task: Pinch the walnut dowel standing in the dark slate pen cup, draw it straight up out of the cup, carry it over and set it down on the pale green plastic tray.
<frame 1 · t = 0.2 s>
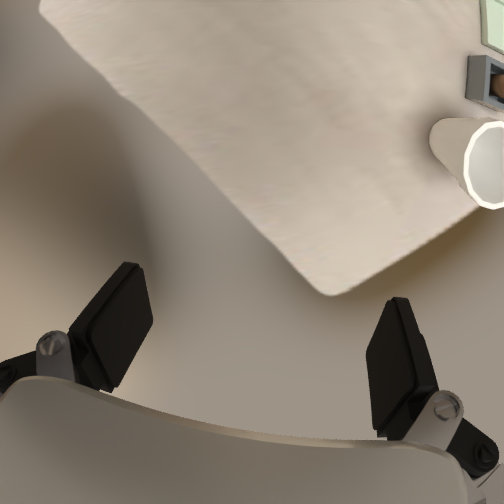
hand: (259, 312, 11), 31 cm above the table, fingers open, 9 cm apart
dowel: (486, 84, 26), point 1 cm above the table, touching pen cup
pen cup: (484, 84, 26), on the table
foam cup: (447, 140, 32), on the table
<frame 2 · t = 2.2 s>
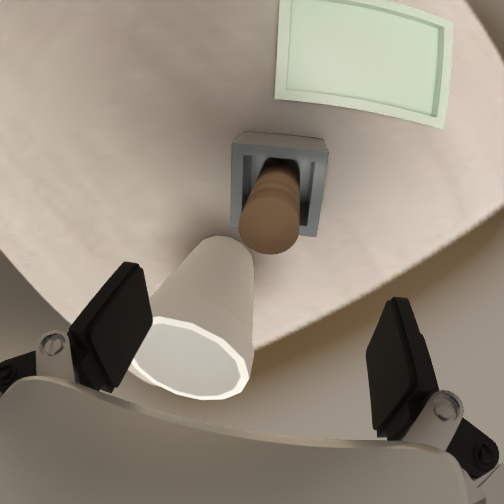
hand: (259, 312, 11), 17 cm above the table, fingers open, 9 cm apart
tray: (365, 53, 18), on the table
dowel: (280, 173, 24), point 1 cm above the table, touching pen cup
pen cup: (280, 171, 25), on the table
foam cup: (223, 261, 31), on the table
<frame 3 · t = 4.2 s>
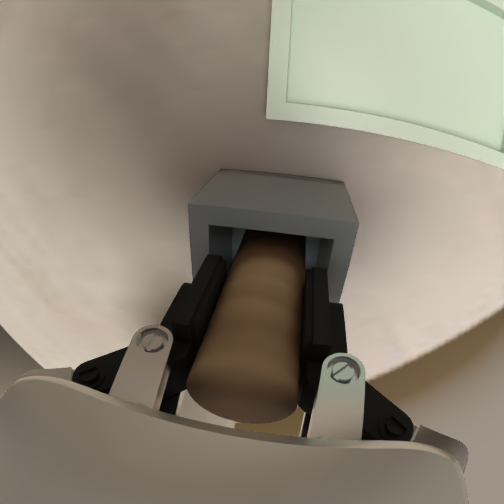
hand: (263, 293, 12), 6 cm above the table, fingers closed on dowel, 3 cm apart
tray: (412, 47, 10), on the table
dowel: (276, 234, 16), point 1 cm above the table, touching gripper, pen cup
pen cup: (277, 229, 17), on the table
foam cup: (201, 336, 23), on the table
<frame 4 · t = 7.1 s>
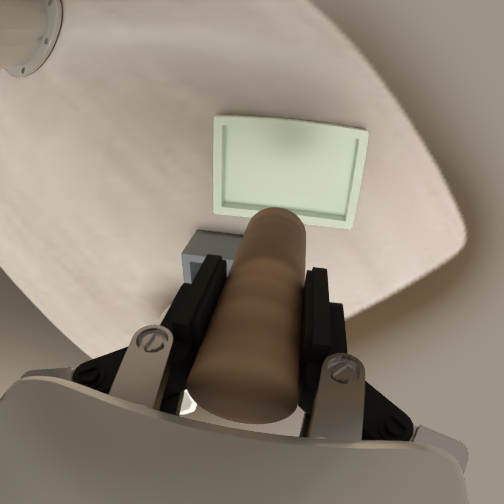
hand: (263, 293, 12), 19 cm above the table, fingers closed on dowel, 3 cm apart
tray: (288, 168, 28), on the table
dowel: (276, 234, 16), point 14 cm above the table, touching gripper
pen cup: (225, 258, 34), on the table
foam cup: (190, 314, 40), on the table
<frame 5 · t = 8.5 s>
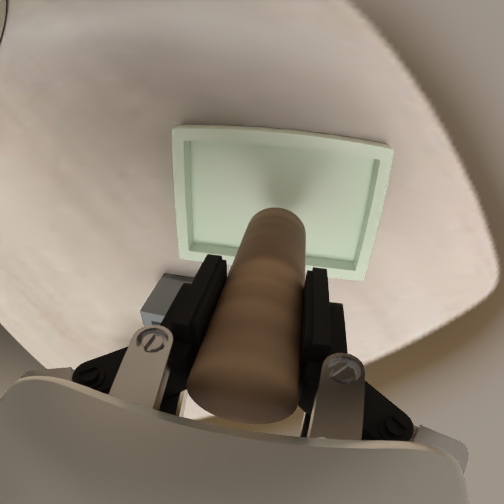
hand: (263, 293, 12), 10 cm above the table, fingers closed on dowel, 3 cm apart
tray: (278, 197, 20), on the table
dowel: (276, 234, 16), point 5 cm above the table, touching gripper
pen cup: (200, 306, 27), on the table
when the fingers open (6 cm above the table, at t = 9.9 s): dowel stays where it is, resting on tray.
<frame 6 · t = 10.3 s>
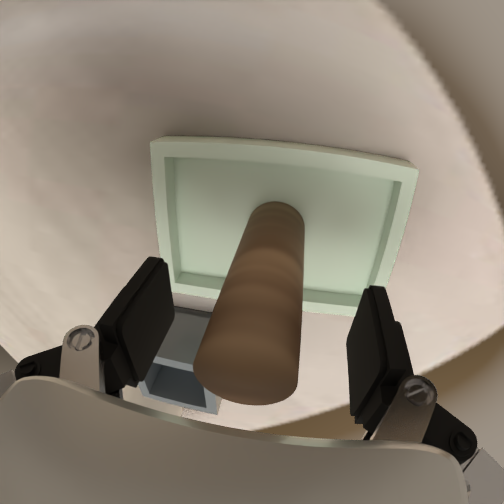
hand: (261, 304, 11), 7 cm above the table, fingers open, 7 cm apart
tray: (278, 223, 17), on the table
dowel: (276, 227, 17), point 1 cm above the table, touching tray
pen cup: (192, 337, 24), on the table
foam cup: (159, 386, 30), on the table
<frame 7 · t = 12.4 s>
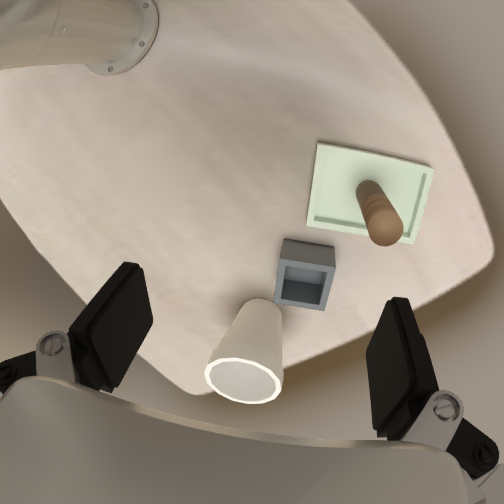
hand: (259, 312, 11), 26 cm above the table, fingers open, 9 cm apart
tray: (368, 192, 33), on the table
dowel: (369, 193, 32), point 1 cm above the table, touching tray
pen cup: (305, 264, 39), on the table
foam cup: (261, 314, 45), on the table
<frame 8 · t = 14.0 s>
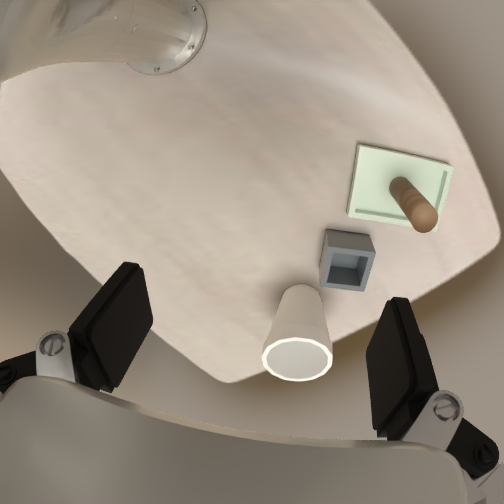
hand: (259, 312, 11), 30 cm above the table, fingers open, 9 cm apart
tray: (399, 186, 36), on the table
dowel: (400, 188, 36), point 1 cm above the table, touching tray
pen cup: (343, 251, 43), on the table
foam cup: (301, 298, 49), on the table
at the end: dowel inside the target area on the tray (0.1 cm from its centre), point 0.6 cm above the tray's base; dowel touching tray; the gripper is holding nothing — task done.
